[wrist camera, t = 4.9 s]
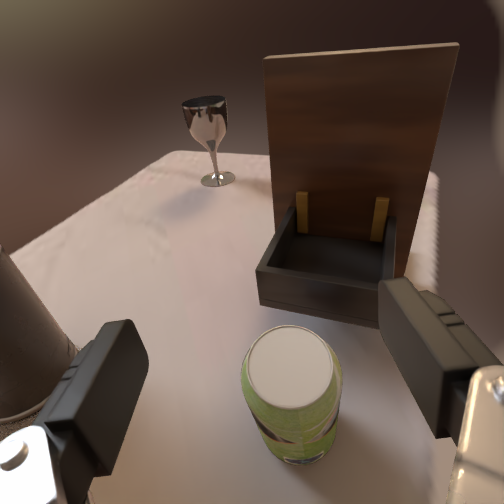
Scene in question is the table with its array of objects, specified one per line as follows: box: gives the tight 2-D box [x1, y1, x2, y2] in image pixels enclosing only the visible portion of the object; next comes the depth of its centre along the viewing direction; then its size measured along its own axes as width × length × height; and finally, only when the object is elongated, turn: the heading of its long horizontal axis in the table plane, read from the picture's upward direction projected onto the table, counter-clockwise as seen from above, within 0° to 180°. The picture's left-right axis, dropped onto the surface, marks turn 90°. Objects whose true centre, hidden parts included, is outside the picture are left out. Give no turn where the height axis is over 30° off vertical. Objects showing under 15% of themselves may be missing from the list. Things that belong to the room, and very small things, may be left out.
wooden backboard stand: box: [255, 43, 459, 330], centre depth 32 cm, size 19×15×24 cm
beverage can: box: [241, 325, 342, 465], centre depth 22 cm, size 6×7×12 cm
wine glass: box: [182, 96, 235, 187], centre depth 62 cm, size 8×8×15 cm
